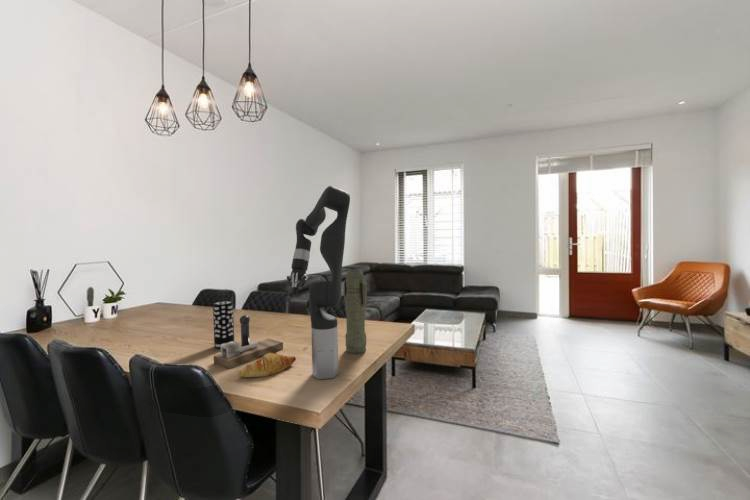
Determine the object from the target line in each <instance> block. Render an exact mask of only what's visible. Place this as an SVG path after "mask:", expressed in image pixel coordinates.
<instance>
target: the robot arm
mask: <svg viewBox="0 0 750 500" xmlns="http://www.w3.org/2000/svg"><path fill="white" fill-rule="evenodd" d="M350 203H351V195H350V194H349V192H347V191H346V190H343V189H341V188H339V187H336V186H333V185H329V186H327V187H326V188H325V189H324V191H322V194H321V195H320V197H319V198H318V201H317V202H316V204H315V206H314V208H313V209H312V210H311V212H310V213H309V214H308V215H307V216H306V217H305V219H304V218H299V220H297V222H296V223H295V232H296V243H295V250H294V252H293V257H292V261H291V262H292V263H291V267H290V268H291V269H292V271H290V275H287V276H286V279H287V282H288V285H289V287H292V289H291V296H292V297H298V295H299V291H300V288H303V287H304V285H306V283H307V282H308V280H309V278H310V276H308V275H307V272H306V271H308V267H309V262H310V255H311V254H310V253H311V250H312V249H311V247H312V241H311V240H310V239H308V238H307V237H306V236H308V237H309V236H310V237H313V236H316V234H317V233H318V229H319V227H320V226H321V224H323V223H324V221H325V219H326V217H327V213H326V210H325V208H327V209H329V210H331V211H334V212H336V218H335V219H334V221H332V222H331V223H330V224H329V225H328V226H327V227H326V228H325V229H324V230H323V232H322V233H321V237H320V245H319V252H320V254H321V257H322V258H323V260H324V261H325V263H326V264H327V266H328V268H329V271H330V273H331V280H329V281H328V280H327V281H326V280H320V281H318V280H317V281H315V280H314V281H313V282H311V284H310V285H309V290H308V291H309V292H308V299H309V300H308V301H309V311H310V313H309V314H310V328H311V329H310V331H311V370H312V371H311V372H312V377H314V378H315V379H316V380H326V379H335V378H336V376H338V374H339V347H338V346H339V343H338V342H339V341H338V339H339V338H338V336H339V334H338V332H339V331H338V318H337V317H336V316H334V315H332V314H329V313H328V312H326V311H324V309H323V308H337V307H339V306H340V303H341V299H342V277H343V276H342V274H343V273H342V272H343V271H342V270H343V260H344V251H345V245H346V244H345V241H346V228H347V219H348V214H349V210H350V209H349V208H350Z"/></svg>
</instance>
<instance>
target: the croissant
mask: <svg viewBox="0 0 750 500" xmlns="http://www.w3.org/2000/svg"><path fill="white" fill-rule="evenodd" d="M296 358H297V357H296V356H292V355H291V356H290V355H283V354H278V353H276V352H273V353H267V354H265V355H264V356H262V357H260V358H257V359H254V360H253V362H252V363H251V364H248V365H246V366H245V367H244V368H243V369H241V370H239V371H238V372H237V373H238V374H237V375H238V377H242V378H259V377H269V376H270V375H272V376H273V375H274V374H275V375H276V374H277V373H280V372H281V371H283V370H284V369H288V368H289V367H290V366H292V365H293V364H294V363H295V362H296Z"/></svg>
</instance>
